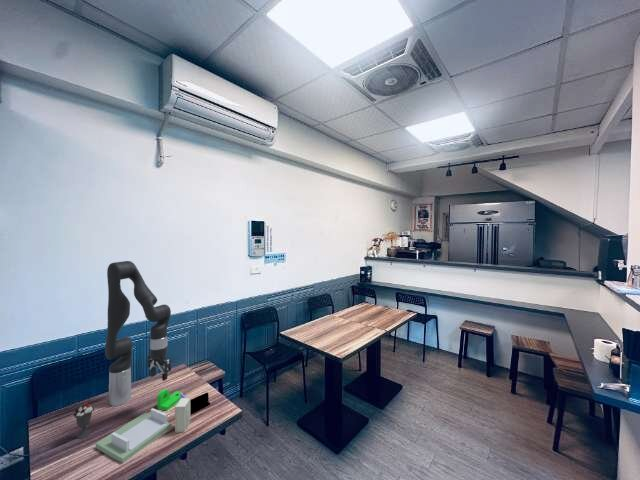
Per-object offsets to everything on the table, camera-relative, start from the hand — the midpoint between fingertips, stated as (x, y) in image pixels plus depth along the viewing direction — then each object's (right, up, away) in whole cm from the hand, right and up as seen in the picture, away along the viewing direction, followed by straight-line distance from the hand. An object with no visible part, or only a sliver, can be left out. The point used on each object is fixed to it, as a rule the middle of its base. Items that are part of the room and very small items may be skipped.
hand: (158, 377), depth 128 cm
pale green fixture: (+1, -16, -18) cm, 24 cm away
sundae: (-22, -16, -16) cm, 32 cm away
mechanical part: (+3, -16, +6) cm, 18 cm away
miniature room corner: (+16, -17, +3) cm, 23 cm away
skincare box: (+19, -17, -12) cm, 28 cm away
